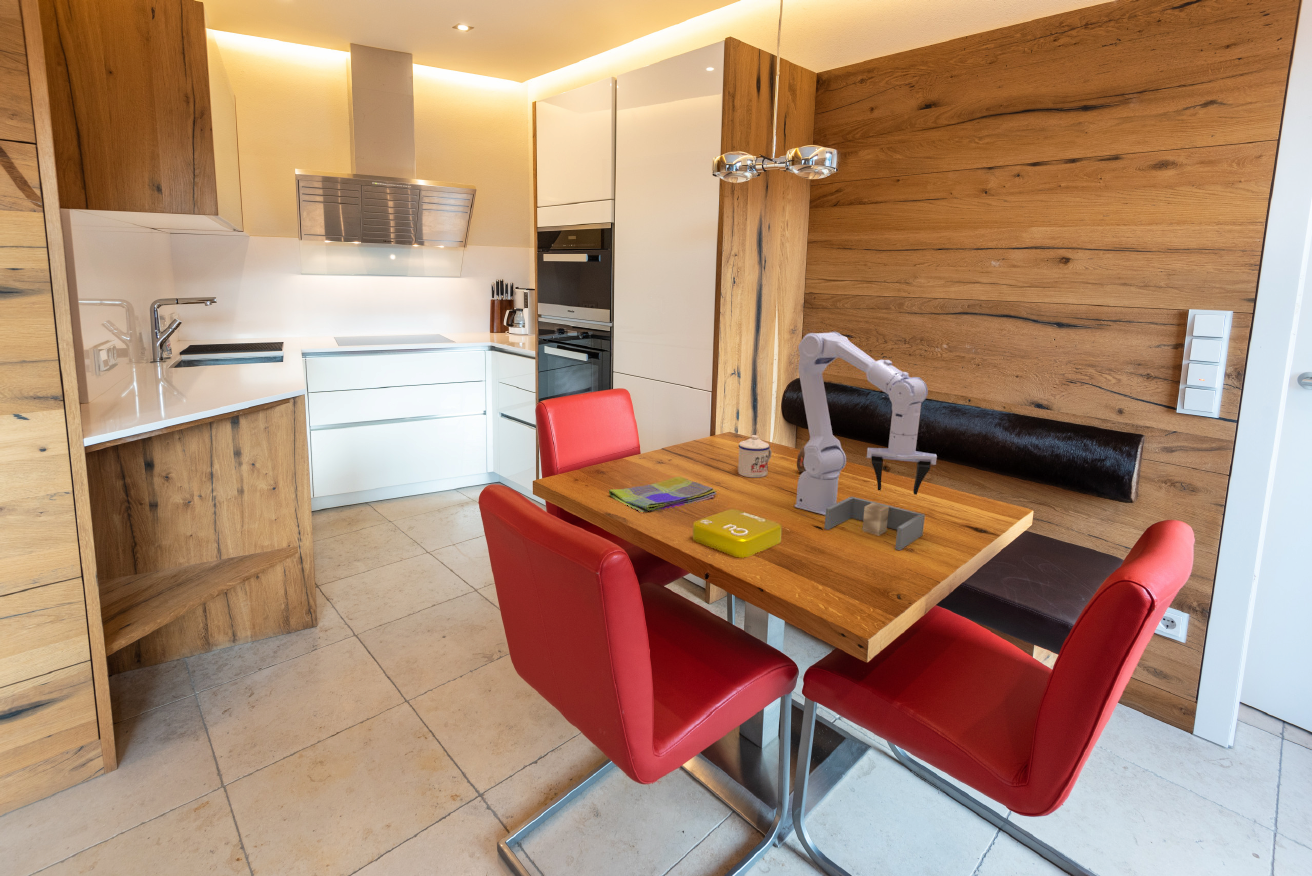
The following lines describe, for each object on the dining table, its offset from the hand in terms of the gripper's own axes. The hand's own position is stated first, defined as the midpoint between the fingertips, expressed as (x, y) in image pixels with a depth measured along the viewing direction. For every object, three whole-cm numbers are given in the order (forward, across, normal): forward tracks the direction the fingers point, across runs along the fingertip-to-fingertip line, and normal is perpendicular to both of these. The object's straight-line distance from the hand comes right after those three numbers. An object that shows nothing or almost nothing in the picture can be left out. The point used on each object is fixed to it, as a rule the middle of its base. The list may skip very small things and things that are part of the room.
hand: (897, 491), depth 151 cm
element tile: (+11, -33, -17) cm, 38 cm away
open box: (+10, -4, -1) cm, 11 cm away
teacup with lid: (+11, -38, +37) cm, 54 cm away
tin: (+11, -23, +47) cm, 53 cm away
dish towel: (+11, -57, +6) cm, 59 cm away
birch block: (+10, -4, 0) cm, 11 cm away
